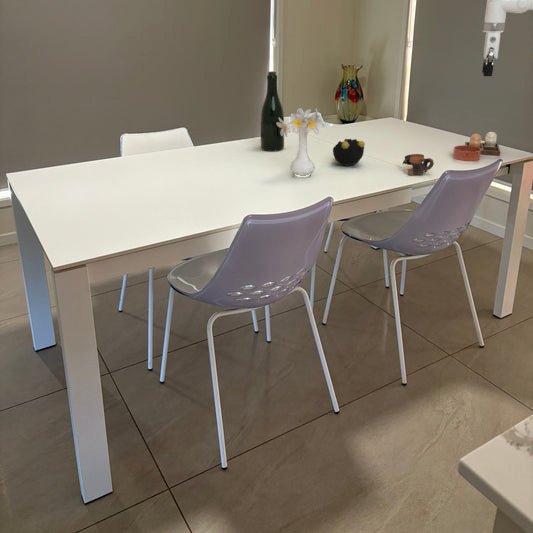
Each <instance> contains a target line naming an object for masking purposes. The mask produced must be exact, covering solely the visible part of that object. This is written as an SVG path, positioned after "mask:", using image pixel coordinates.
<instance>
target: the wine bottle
mask: <svg viewBox="0 0 533 533" xmlns="http://www.w3.org/2000/svg"><path fill="white" fill-rule="evenodd" d="M278 90H279V89H278V75H277V71H272V70H271V71H268V72H267V75H266V93H265V98H264V101H263V104H262V107H261V112H260V149H261V150H262V151H264V152H265V151H266V152H280V151H282V150H284V149H285V133H284V134H283V136H281V133H280V131H281V129H282V128H280V127H278V126H277V124H276V123H277V122H279V123H281V122H280V121H279V117H280V118H281V120H282V121H283V122H284V123H285V116H284V114H285V113H284V108H283V105H282V102H281V100H280V99H281V98H280V96H279V91H278ZM263 149H264V150H263ZM268 150H270V151H268ZM275 150H276V151H275Z"/></svg>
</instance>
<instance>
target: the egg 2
mask: <svg viewBox="0 0 533 533" xmlns="http://www.w3.org/2000/svg"><path fill="white" fill-rule="evenodd" d="M497 138H498V134H497V133H496V132H495V131H488V132H487V133H486V134H485V139H484V143H485V144H484V146H485V147H495V146H496V144H497Z"/></svg>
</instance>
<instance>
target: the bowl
mask: <svg viewBox="0 0 533 533" xmlns="http://www.w3.org/2000/svg"><path fill="white" fill-rule="evenodd" d="M452 150H453V151H452V159H453V160H456V161H460V162H461V161H462V162H478V161H480V160H481V159H482V155H481V152H482V149H481V148H479V147H475V146H467V145H465V144H464V145H456V146H454V147H453V148H452Z"/></svg>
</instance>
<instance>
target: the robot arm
mask: <svg viewBox="0 0 533 533" xmlns="http://www.w3.org/2000/svg"><path fill="white" fill-rule="evenodd" d="M485 6H486V7H485V13H484V21H483V27H482V33H485V37H484V44H483V59H484V61H483V64H482V72H481V73H483V74H482V76H483V77H492V76H493V71H494V67H495V66H494V60H495V61H496V60H498V58H499V52H500V51H499V50H500V43H501V33H504V32H505V26H506V20H507V19H506V18H507V13H510V14H518V15H519V14H524V13H526V12H527V11H533V0H486V5H485Z"/></svg>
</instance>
